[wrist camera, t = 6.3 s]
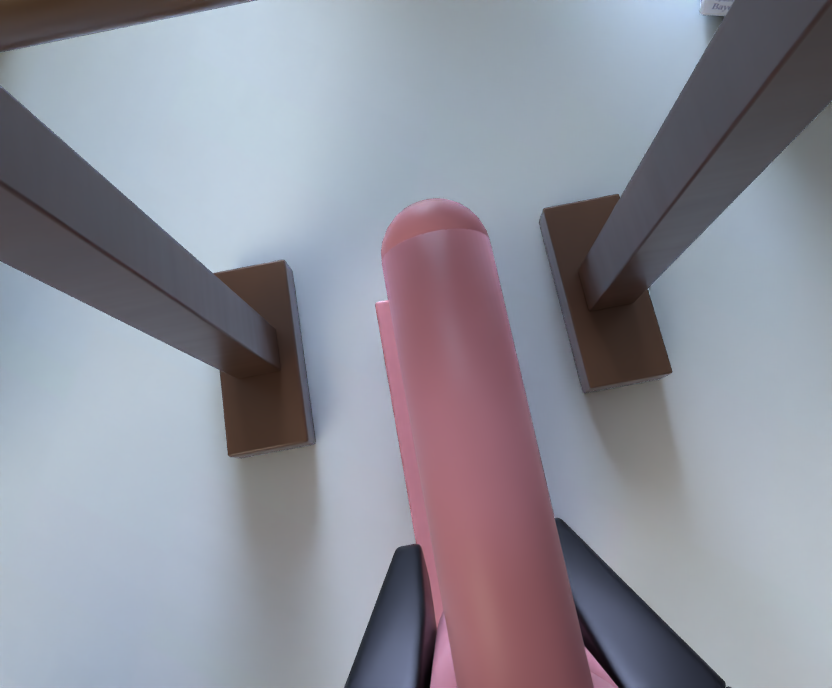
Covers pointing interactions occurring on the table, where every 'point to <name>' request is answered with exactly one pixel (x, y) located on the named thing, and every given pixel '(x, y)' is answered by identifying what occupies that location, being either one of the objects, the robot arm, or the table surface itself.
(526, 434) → the hanger
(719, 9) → the medicine box
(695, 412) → the table surface
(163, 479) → the table surface
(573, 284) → the stand
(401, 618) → the robot arm
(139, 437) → the table surface
